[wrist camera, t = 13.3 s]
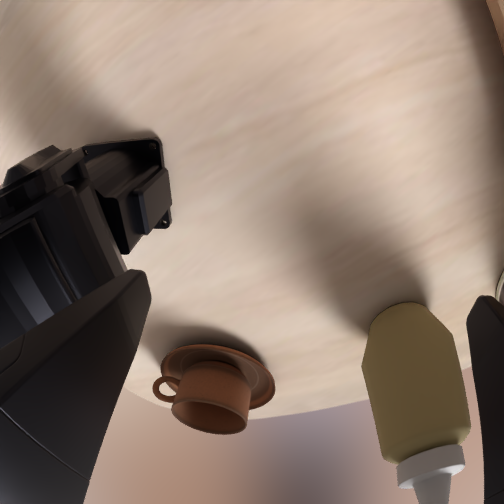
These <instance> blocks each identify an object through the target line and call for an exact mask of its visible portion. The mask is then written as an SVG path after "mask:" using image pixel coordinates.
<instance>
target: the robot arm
mask: <svg viewBox="0 0 504 504" xmlns="http://www.w3.org/2000/svg"><path fill="white" fill-rule="evenodd" d="M152 143H155V144H156V149H154V148H153V147H152ZM85 150H87V152H88V154H86V152H85ZM171 205H172V198H171V191H170V183H169V174H168V170H167V169H166V168H165V166H164V157H163V148H162V142H161V141H160V139H158V138H144V139H132V140H122V141H113V142H104V143H96V144H89V145H85V146H83V147H80V148H78V149H75V150H72V149H71V148H70V149H67V150H64V151H63V150H62V151H61V150H59V149H58V148H56V147H55V146H53V145H51V146H49V147H47V148H45V149H43V150H41V151H39V152H37V153H35V154H33V155H31V156H29V157H27V158H26V159H24V160H22V161H21V162H19V163H17V164H16V165H14V166H13V167H11V168H10V169H8V171H7V173H6V176H5V179H4V182H3V184H2V185H1V186H0V504H83V502H84V499H85V495H86V492H87V489H88V486H89V480H90V479H91V475H92V472H93V469H94V466H95V463H96V460H97V457H98V454H99V451H100V447H101V445H102V442H103V439H104V436H105V433H106V430H107V427H108V424H109V422H110V419H111V416H112V414H113V411H114V408H115V405H116V403H117V400H118V397H119V395H120V392H121V389H122V387H123V384H124V382H125V379H126V377H127V374H128V372H129V369H130V367H131V364H132V362H133V359H134V356H135V354H136V351H137V348H138V345H139V341H140V338H141V334H142V331H143V328H144V324H145V321H146V317H147V314H148V311H149V308H150V304H151V292H150V288H149V284H148V280H147V276H146V274H145V272H144V271H142V270H134V269H130V270H127V267H126V265H125V263H124V261H123V259H122V256H121V254H123V255H127V254H129V253H130V252H131V250H132V249H133V248H134V246H135V245H136V244H137V242H138V241H139V240H140V238H141V237H142V236H143V235H148V234H149V233H150V232H151V231H152V229H153V228H154V229H167V228H168V227H169V226H170V224H171V223H172V219H171V212H170V206H171ZM162 219H163V220H165V221H166V222H167V223H164V222H163V221H162ZM466 326H467V333H468V339H469V346H470V354H471V363H472V370H473V377H474V383H475V389H476V395H477V401H478V408H479V415H480V424H481V433H482V444H483V459H484V499H485V500H484V504H504V305H502V304H501V303H500V302H499V301H498V300H496V299H495V298H494V297H492V296H488V295H481V296H479V297H478V298H477V300H476V302H475V304H474V306H473V307H472V309H471V311H470V313H469V315H468V317H467V321H466Z"/></svg>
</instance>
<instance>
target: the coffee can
mask: <svg viewBox="0 0 504 504" xmlns="http://www.w3.org/2000/svg"><path fill="white" fill-rule="evenodd" d="M496 300H498V301H499V302H500V303H501V304H502V305H504V271H503V273H502V275H501V278H500V280H499V283H498V287H497V292H496Z"/></svg>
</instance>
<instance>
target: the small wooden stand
mask: <svg viewBox="0 0 504 504" xmlns="http://www.w3.org/2000/svg"><path fill="white" fill-rule="evenodd" d="M486 2H487V5H488V8H489V10H490V13H491V16H492V19H493V22H494V25H495V28H496V31H497V34H498V37H499V41H500V44H501V48H502V51H503V55H504V0H486Z"/></svg>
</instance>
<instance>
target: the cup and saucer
mask: <svg viewBox="0 0 504 504" xmlns="http://www.w3.org/2000/svg"><path fill="white" fill-rule="evenodd" d="M161 374H162V377H160V378H158V379H157V380H156V381H155V382H154V384H153V393H154V395H155V396H156V397H157V398H158V399H160V400H162V401H165V402H169V403H173V405H172V408H171V410H172V413H173V415H174V416H175V417H176V418H177V419H178V420H179V421H180V422H182V423H183V424H185V425H187V426H189V427H191V428H193V429H196V430H200V431H203V432H207V433H212V434H222V435H227V434H235V433H238V432H241V431H243V430H244V429H245V428H246V426H247V420H248V413H249V410H252V409H255V408H258V407H261V406H263V405H265V404H266V403H268V402H269V401H270V400H271V399H272V398H273V396H274V394H275V382H274V379H273V377H272V375H271V373H270V372H269V371H268V370H267V369H266V368H265V367H264V366H263V365H262V364H261V363H259V362H258V361H257V360H255V359H254V358H252V357H250V356H249V355H247V354H245V353H242V352H240V351H237V350H234V349H231V348H228V347H224V346H219V345H211V344H195V345H188V346H183V347H180V348H177V349H175V350H173V351H171V352H170V353H169V354H168V355H167V356H166V357H165V358H164V360H163V361H162V364H161ZM164 382H166V383H167V385H168V386H169V387H170V388H171V389H172V390H173V391H175V392H176V395H174V396H166V395H163V394H161V393H160V391H159V386H160V385H161V384H162V383H164Z"/></svg>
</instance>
